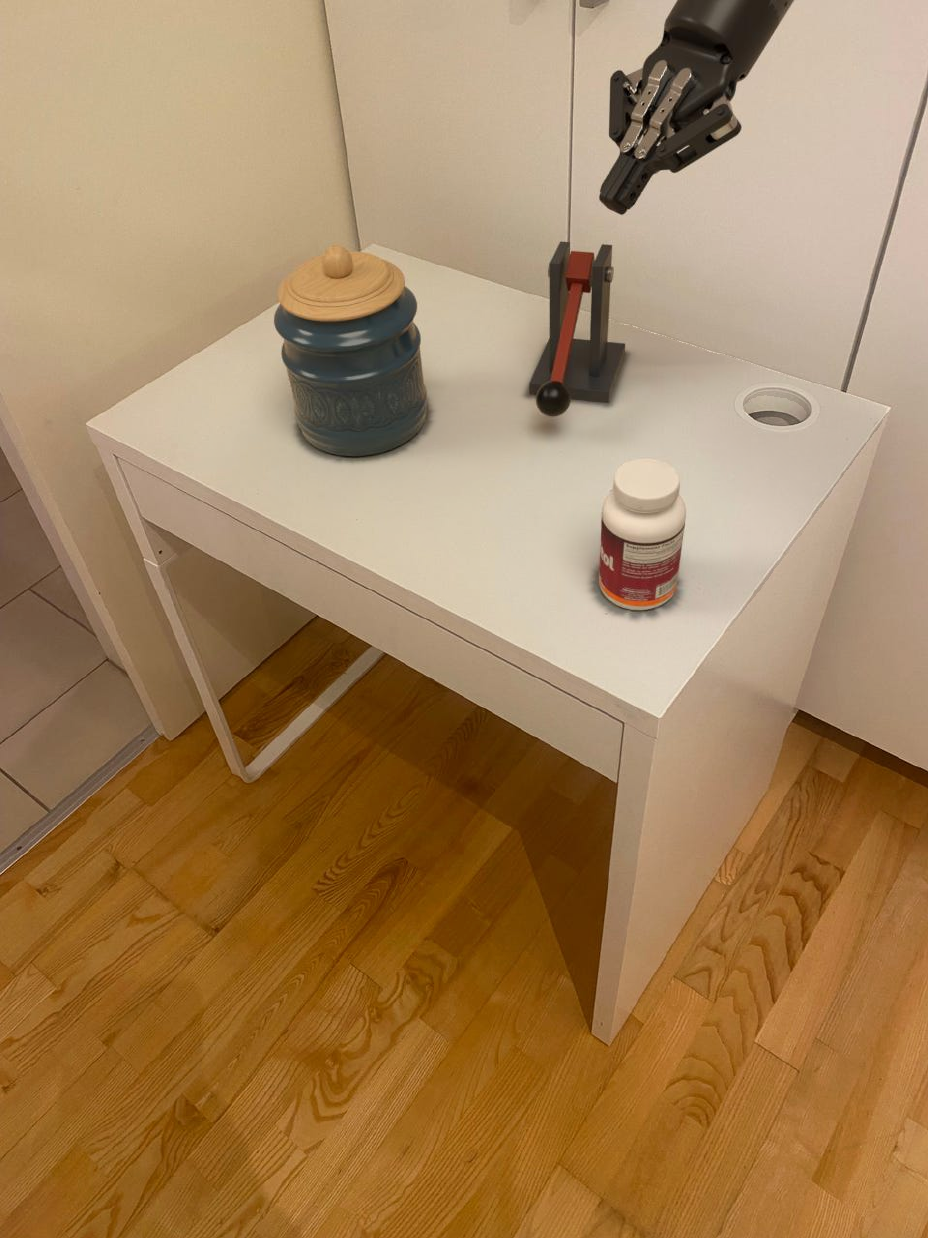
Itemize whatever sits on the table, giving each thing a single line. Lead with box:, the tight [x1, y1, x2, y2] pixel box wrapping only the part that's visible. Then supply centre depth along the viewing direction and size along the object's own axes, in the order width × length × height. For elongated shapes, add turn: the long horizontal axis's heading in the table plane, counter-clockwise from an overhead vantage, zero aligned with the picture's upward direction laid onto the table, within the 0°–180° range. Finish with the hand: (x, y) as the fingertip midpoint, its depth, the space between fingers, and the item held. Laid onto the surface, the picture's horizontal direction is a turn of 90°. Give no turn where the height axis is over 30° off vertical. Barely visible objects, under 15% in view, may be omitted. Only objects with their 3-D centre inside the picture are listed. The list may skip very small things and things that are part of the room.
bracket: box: [528, 241, 627, 404], centre depth 93 cm, size 9×8×13 cm
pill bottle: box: [598, 458, 687, 611], centre depth 72 cm, size 6×6×11 cm
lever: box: [535, 250, 596, 418], centre depth 89 cm, size 16×3×3 cm
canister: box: [273, 245, 429, 457], centre depth 88 cm, size 13×13×18 cm
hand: (610, 207), depth 76 cm, fingers closed
